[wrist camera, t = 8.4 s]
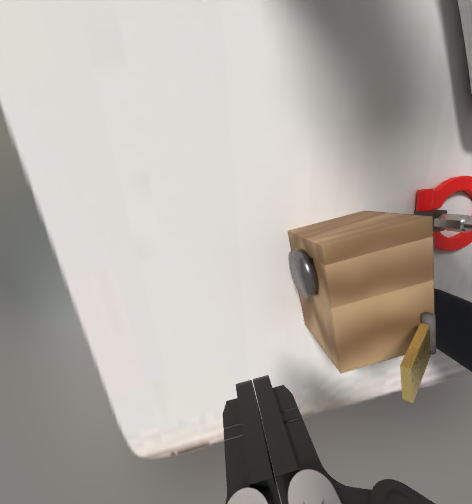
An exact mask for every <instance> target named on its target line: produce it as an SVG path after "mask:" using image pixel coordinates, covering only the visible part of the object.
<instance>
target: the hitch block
mask: <svg viewBox="0 0 472 504" xmlns="http://www.w3.org/2000/svg"><path fill="white" fill-rule="evenodd" d="M288 235H289V241H290V246H291V251H294V250H298V249H304V250H305V251H306V252H307V253H308V254H309V256H310V257H311V258H313V261H314V266H315V269H316V272H317V276H318V281H319V291H318V294H317V295H314V296H310V297H306V298H304V297H303V296H302V295H301V294H300V293H299V295H300V300H301V305H302V311H303V316H304V322H305V325H306V327H307V328H308V329H309V331H310V332H311V333H312V335H313V336H314V337H315V339H316V340H317V342H318V343H319V344H320V346H321V347H322V348H323V350H324V351H325V353H326V354H327V355H328V357H329V358H330V359H331V361H332V362H333V363H334V365H335V366H336V368H337V369H338V370H339V372H340V373H344V372H347V371H351V370H354V369H358V368H361V367H365V366H368V365H372V364H375V363H378V362H382V361H385V360H389V359H392V358H396V357H399V356H403V355H405V354H406V352H407V350H408V348H409V346H410V344H411V342H412V340H413V337H414V335H415V333H416V331H417V329H418V327H419V325H420V323H422V324H427V325H430V354H435V353H436V320H435V314H434V266H433V217H432V216H420V215H408V214H397V213H385V212H373V211H362V212H358V213H355V214H351V215H347V216H343V217H339V218H335V219H332V220H328V221H324V222H320V223H316V224H312V225H309V226H305V227H301V228H297V229H293V230H289V231H288Z"/></svg>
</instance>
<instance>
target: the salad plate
mask: <svg viewBox="0 0 472 504" xmlns="http://www.w3.org/2000/svg"><path fill="white" fill-rule="evenodd" d="M458 5H459V11H460V17H461V23H462V29H463V35H464V42H465V48H466V55H467V62H468V69H469V76H470V85H471V92H472V0H458Z"/></svg>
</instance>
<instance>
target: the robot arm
mask: <svg viewBox="0 0 472 504" xmlns="http://www.w3.org/2000/svg"><path fill="white" fill-rule="evenodd" d="M253 383H254V387H255V391H256V395H255V391H254V387H253V384H252V380H249V381H245V382H242V383H238V384H236V390H237V398H236V399H233V400H229V401H227V402H226V405H225V409H224V412H223V427H224V440H225V443H224V444H225V461H226V479H227V499H226V504H281V502H280V498H279V494H278V490H277V486H278V489H279V493H280V497H281V501H282V504H435V503H433V502H432V501H430V500H428V499H427V498H426V497H424V496H422V495H421V494H419V493H418V492H416V491H415V490H413V489H412V488H410V487H408V486H407V485H405V484H403V483H401V482H399V481H395V480H392V479H385V480H382V481H379V482H378V483H376V484H375V486H374V487H373V489H372V490H369V489H361V488H353V487H349V486H345V485H343V484H341V483H339V482H337V481H336V480H334V479H333V478H332V477H331V476H330V475H329V474H328V473H327V472H326V471H325V469H324V468H323V466H322V465H321V462H320V460H319V458H318V455H317V453H316V451H315V448H314V446H313V443H312V441H311V438H310V436H309V434H308V431H307V429H306V426H305V424H304V421H303V419H302V417H301V414H300V412H299V409H298V407H297V404H296V402H295V400H294V397H293V395H292V393H291V392H290V391H289V390H288V389H287V388H286V387H285V386H284V385H282V386H278V387H275V388H272V385H271V382H270V379H269V376H268V375H266V376H263V377H259V378H256V379H253ZM256 396H257V399H256ZM257 400H258V403H257ZM258 404H259V407H258ZM259 409H260V411H259ZM260 413H261V415H260ZM261 417H262V419H261ZM262 422H263V423H262ZM263 426H264V428H263ZM264 431H265V432H264ZM265 435H266V437H265ZM266 439H267V441H266ZM267 444H268V445H267ZM268 448H269V450H268ZM269 452H270V454H269ZM270 457H271V458H270ZM271 461H272V463H271ZM272 465H273V467H272ZM273 470H274V472H273ZM274 474H275V476H274ZM275 478H276V480H275ZM276 482H277V485H276Z"/></svg>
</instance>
